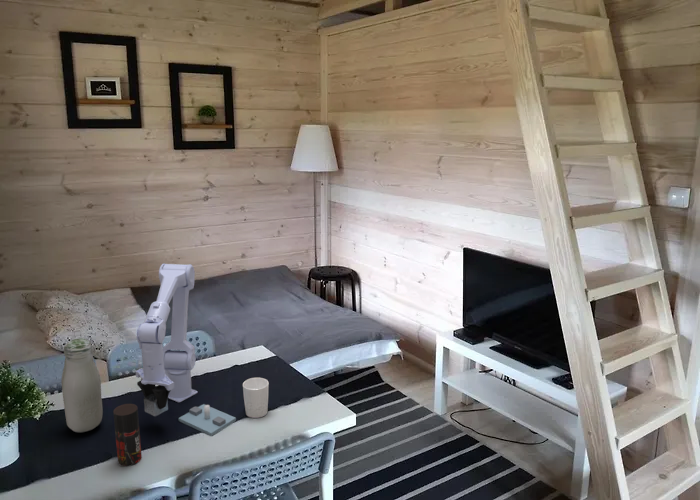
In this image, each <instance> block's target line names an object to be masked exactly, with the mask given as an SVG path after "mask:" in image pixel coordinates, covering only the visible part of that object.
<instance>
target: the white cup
mask: <svg viewBox="0 0 700 500" xmlns="http://www.w3.org/2000/svg"><path fill="white" fill-rule="evenodd" d="M269 385H270V384H269V381H268V379H266V378H263V377H251V378H248V379H246V380H245V381H244V382H243V383H242V391H243V400H244V402H243V403H244V408H245V415H246V416H247V417H248V418H252V419H259V418H262V417H264V416H266V415H267V413H268V409H269V408H268V407H269V406H268V404H269V388H270V387H269Z"/></svg>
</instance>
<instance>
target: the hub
mask: <svg viewBox="0 0 700 500" xmlns="http://www.w3.org/2000/svg"><path fill="white" fill-rule="evenodd" d="M168 402H169V401H168V400H167V403H166V407H164V408H162V409H159V408H158V404H157V399H156V396H155V394H154V393H153V394H151V395H149V396H147V397H144V398H143V403H144V404H143V407H144V412H145V413H147V414H149V415H151V416H153V417H157V416H160V415H161V414H163V413H165V412H166V411H168V410H169V404H168Z"/></svg>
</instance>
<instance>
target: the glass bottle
mask: <svg viewBox="0 0 700 500" xmlns="http://www.w3.org/2000/svg"><path fill="white" fill-rule="evenodd" d="M63 350H64V351H63V355H64V357H65V358H64V366H63V370H62V374H61V393H62V401H63V406H64V408H63V409H64V413H65V419H66V420H65V422H66V426H67V427H68V428H69V429H70V430H71V431H73V432H75V433H85V432H89V431H92V430H94V429H95V428H96V427H98V426H99V425H100V424H101V422H102V419H103V413H104V411H103V400H102V398H103V397H102V381H101V376H100V373H99V370H98V368H97V366H96V363H95V360H94V356H93V352H94V350H93V346H92V343H91V341H90V340H88V338H82V337H81V338H80V337H79V338H76V339H72V340H69V341H68V342H67V343H66V344H65V345H64V347H63Z"/></svg>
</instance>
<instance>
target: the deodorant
mask: <svg viewBox="0 0 700 500" xmlns="http://www.w3.org/2000/svg"><path fill="white" fill-rule="evenodd" d="M112 413H113V421H114V432H115V434H114V435H115V443H116V444H115V445H116V453H117V462H118V465H119V466H121V467H131V466H134V465H136V464H138V463H139V462H141V460H142V458H143V457H142V456H143V455H142V446H141V445H142V442H141V433H140V431H141V430H140V423H139V420H140V419H139V409H138V405H136V404H134V403H123V404H121V405H118V406H116V407H115V408H114V409H113V412H112Z"/></svg>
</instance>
